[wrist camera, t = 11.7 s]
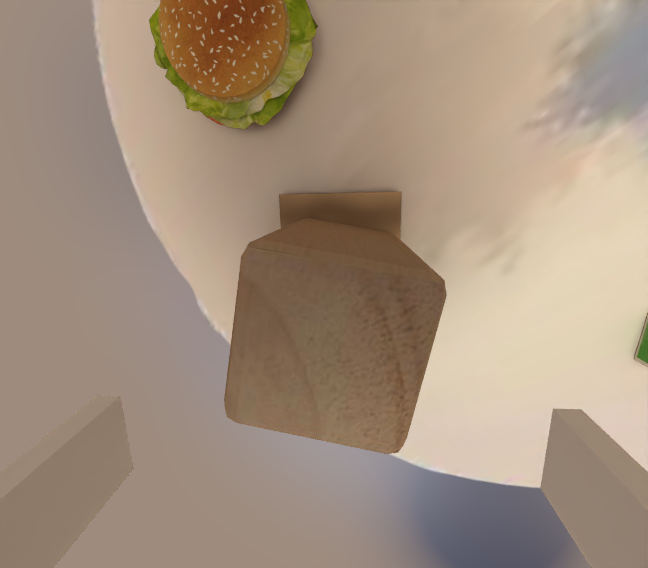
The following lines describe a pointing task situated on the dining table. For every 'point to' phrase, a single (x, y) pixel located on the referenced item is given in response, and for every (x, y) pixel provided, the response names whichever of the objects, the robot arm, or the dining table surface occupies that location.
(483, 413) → the dining table surface
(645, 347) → the small box
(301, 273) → the wooden block
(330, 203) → the board
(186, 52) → the food
